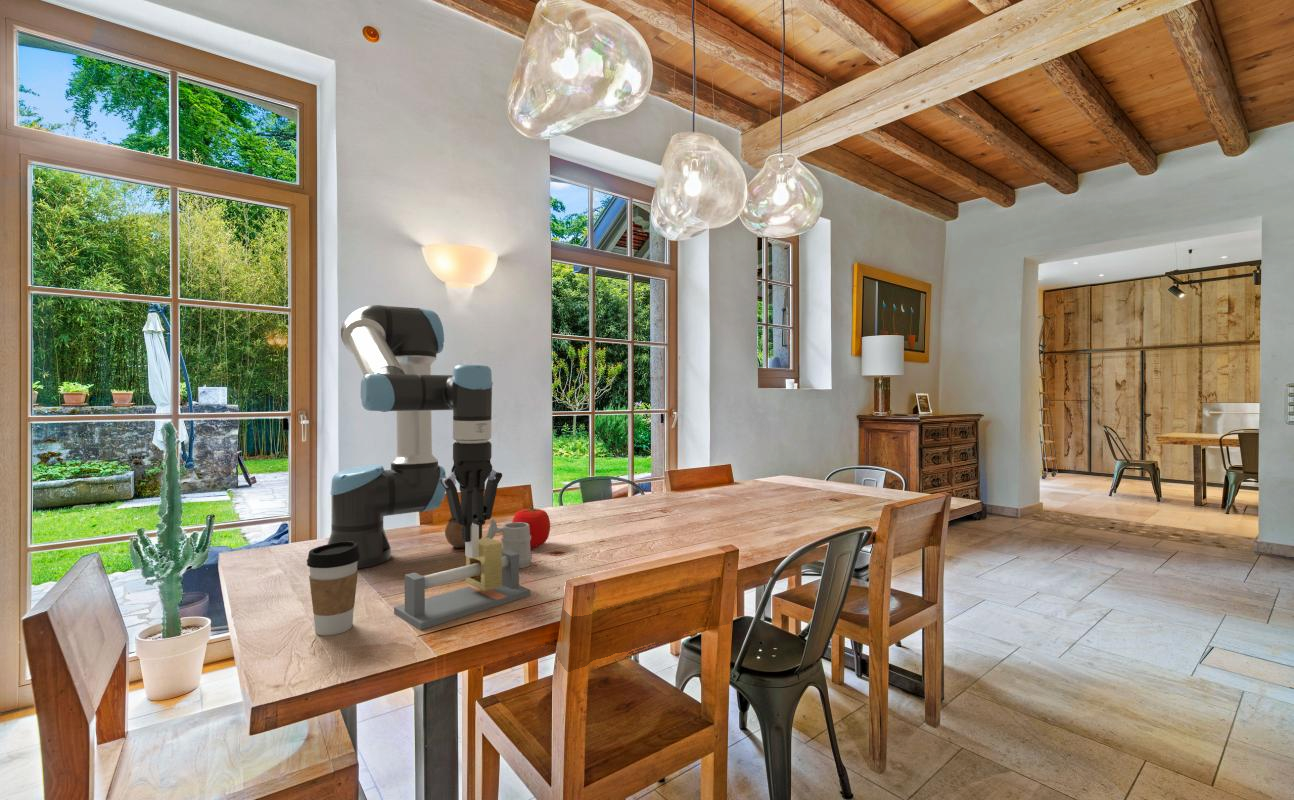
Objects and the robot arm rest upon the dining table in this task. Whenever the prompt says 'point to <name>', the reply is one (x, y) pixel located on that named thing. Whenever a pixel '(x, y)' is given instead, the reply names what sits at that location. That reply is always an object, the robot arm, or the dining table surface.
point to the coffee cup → (333, 586)
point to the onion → (454, 534)
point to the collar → (487, 565)
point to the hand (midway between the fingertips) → (471, 556)
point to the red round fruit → (535, 524)
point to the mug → (514, 539)
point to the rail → (458, 594)
